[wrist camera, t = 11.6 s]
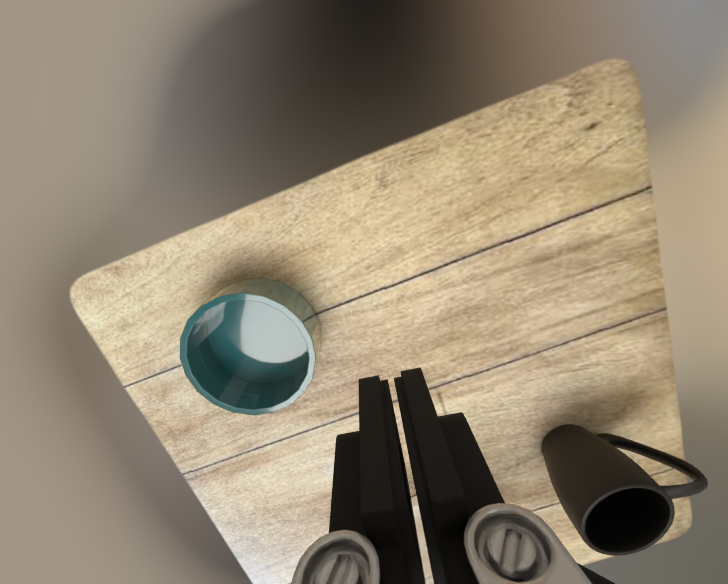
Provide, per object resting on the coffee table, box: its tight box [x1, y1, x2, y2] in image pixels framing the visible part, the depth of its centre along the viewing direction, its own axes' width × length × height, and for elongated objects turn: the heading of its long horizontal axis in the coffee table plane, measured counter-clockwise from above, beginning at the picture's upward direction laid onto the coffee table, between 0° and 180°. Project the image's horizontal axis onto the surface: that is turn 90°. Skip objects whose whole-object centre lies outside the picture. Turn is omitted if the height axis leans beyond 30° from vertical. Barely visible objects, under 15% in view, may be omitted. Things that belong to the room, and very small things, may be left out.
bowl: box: [180, 278, 321, 415], centre depth 33 cm, size 12×12×5 cm
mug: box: [542, 425, 708, 556], centre depth 35 cm, size 8×12×10 cm
